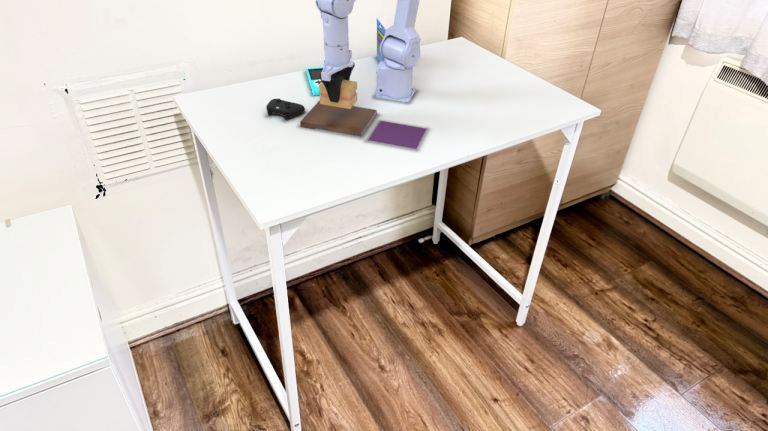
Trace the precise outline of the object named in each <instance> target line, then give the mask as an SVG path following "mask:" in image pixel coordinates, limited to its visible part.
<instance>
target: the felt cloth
mask: <svg viewBox="0 0 768 431" xmlns="http://www.w3.org/2000/svg"><path fill="white" fill-rule="evenodd" d="M426 131H427V128H426V127H420V126H415V125H408V124H401V123H395V122H389V121H385V120H380V121H379V122H378V124H377V126H376V127H375V128H374V130H373V131H372V133H371V134H370V136H369V138H368V139H367V141H369V142H375V143H381V144H385V145H391V146H398V147H402V148H409V149H415V150H417V148H418V146H419V144H420V142H421V141H422V139H423V137H424V134H425V133H426Z"/></svg>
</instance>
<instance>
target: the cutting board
mask: <svg viewBox="0 0 768 431" xmlns="http://www.w3.org/2000/svg"><path fill="white" fill-rule="evenodd" d="M377 115H378V110H377V109H375V108H367V107H361V106H355V105H353V106H352V108H351V109H347V108H341V107H335V106H329V105H323V104H320V99H319V100H318V101H317V103H315V105H313V107H312V108H311V109H310V111H308V112H307V113H306V115H305V116H304V117H303V118H302V119H301V120H300V127H301V128H305V129H310V130H311V129H312V130H320V131H326V132H332V133H338V134H344V135H349V136H355V137H360V138H362V136H363V135H364V134H365V132H366V131H367V130H368V128H369V127H370V125H371V124H372V122H373V121H374V119H375V118H376V116H377Z"/></svg>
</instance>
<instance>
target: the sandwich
mask: <svg viewBox="0 0 768 431" xmlns="http://www.w3.org/2000/svg"><path fill="white" fill-rule="evenodd" d="M357 90H358V82H357V81H355V80H343V81H342V84H341V89H340V98H339V102H338V103H336V102H330V100H329V97H328V93H327V91H326V88H325V86H324V84H323V83H322V82H321V83H320V85H319V93H320V95H319V100H320V104H323V105H329V106H335V107H341V108H347V109H351V108H352V106H355V105H356V103H357V101H358V93H357Z"/></svg>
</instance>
